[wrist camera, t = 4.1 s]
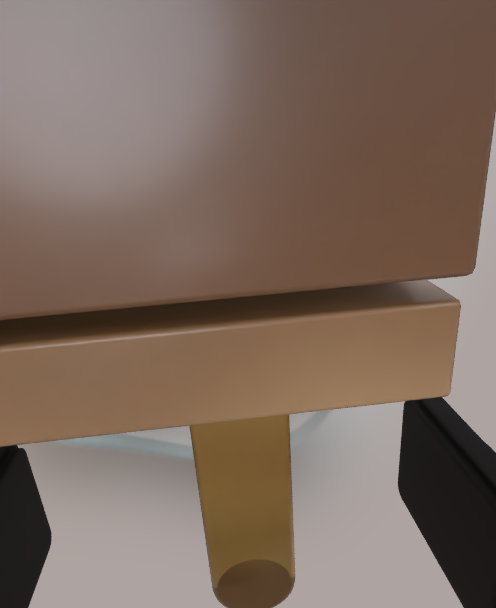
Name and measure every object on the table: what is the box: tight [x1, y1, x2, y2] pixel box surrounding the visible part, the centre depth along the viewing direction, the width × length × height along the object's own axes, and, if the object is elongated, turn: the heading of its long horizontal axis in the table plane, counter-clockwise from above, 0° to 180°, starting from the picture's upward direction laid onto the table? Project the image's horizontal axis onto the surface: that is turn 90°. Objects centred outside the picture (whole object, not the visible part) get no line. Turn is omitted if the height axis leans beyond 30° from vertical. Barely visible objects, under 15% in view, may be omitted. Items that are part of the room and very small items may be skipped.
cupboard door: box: [0, 280, 461, 608], centre depth 9 cm, size 6×14×10 cm, turn 94°
